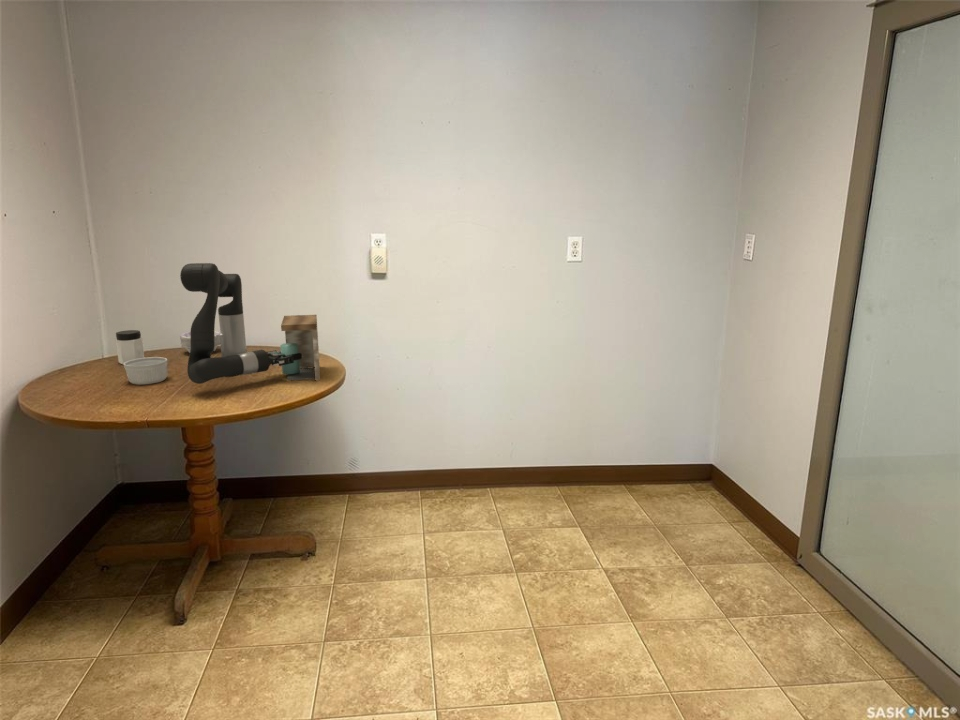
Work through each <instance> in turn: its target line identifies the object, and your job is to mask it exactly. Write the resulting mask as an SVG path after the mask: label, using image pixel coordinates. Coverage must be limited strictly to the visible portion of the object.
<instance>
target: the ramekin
mask: <svg viewBox="0 0 960 720" xmlns="http://www.w3.org/2000/svg"><path fill="white" fill-rule="evenodd" d="M168 363H169V361H168V358H166V357H162V356H151V357H150V356H149V357H145V358H139V359H134V360H130V361H127V362H125V363H124V365H123V368H124V369H125V374H126V375H127V380H128V381H129V382H130V384H133V385H138V386H139V385H141V386H142V385H152V384H156V383H160V382H162V381H164V380H166V379H167V378H168Z"/></svg>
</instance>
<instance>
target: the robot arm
mask: <svg viewBox="0 0 960 720" xmlns="http://www.w3.org/2000/svg"><path fill="white" fill-rule="evenodd" d="M179 277H180V282H181V284H182V286H183V288H184V289H185V290H187V291H188V292H193V293H195V292H197V293H199V292H200V293H205V294H206V299H205V302H204V304H203V305H202V307H201V309H200V310H199V312H198V313H197V315H196V316H195V318H194V319H193V320H192V323H191V325H190V332H191V339H190V342H191V350H190V353H189V355H188V360H187V361H188V362H187V369H186V370H187V376H188V379H189V380H190V381H191V382H193V383H195V384H197V385H198V384H199V385H200V384H201V385H202V384H205V383H206V382H207V383H208V382H209V381H213V380H215V379H219V378H232V377H233V378H234V377H237V376H243V375H246V376H247V375H252V374H257V373H258V374H259V373H262V372H266V371H268V370H269V368H270V366H277V365H278V366H279V367H282V365H286V364H291V363H294V360H300V359H302V354H301V353H296V354H290V355H285V354H281V350H270V351H269V350H268V351H266V350H264V349H257V350H251V351H247V340H246V329H245V317H244V307H243V288H242V287H243V286H242V279H241V276H240V274H238V273H223V272H222V271H221V270H219V268H218V266H217V265H216V264H215V263H212V262H209V263H208V262H201V263H200V262H199V263H197V262H196V263H187V264H185V265H183V267H181V271H180V276H179ZM219 298H232V301H230V302H228V303H227V304H223V305H221V306H219V307H218V302H219ZM217 308H218V309H217ZM217 313H218V323H219V333H220V345H219V346H220V351H221V352H220V355H221V357H220V356H219V357H218V356H217V357H212V353H214V352H215V351H214V345H215V335H214V331H215V329H216V328H215V327H216V326H215V325H216V314H217ZM213 351H214V352H213ZM281 356H283V357H282V358H281ZM288 359H289V360H288Z"/></svg>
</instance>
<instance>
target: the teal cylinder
mask: <svg viewBox="0 0 960 720" xmlns="http://www.w3.org/2000/svg"><path fill="white" fill-rule="evenodd" d="M279 346H280V347H279V348H280V351H281V354H285V355H290V354H296V353H299V351H298V344H297V343H286V342H285V343H281V344H280V345H279ZM282 357H283V356H281V358H282ZM288 360H289V359H288ZM281 372H282V374H284V375H288V374H296V373H299V372H300V366H299V360H294V363H291V364H286V365H282V366H281Z"/></svg>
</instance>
